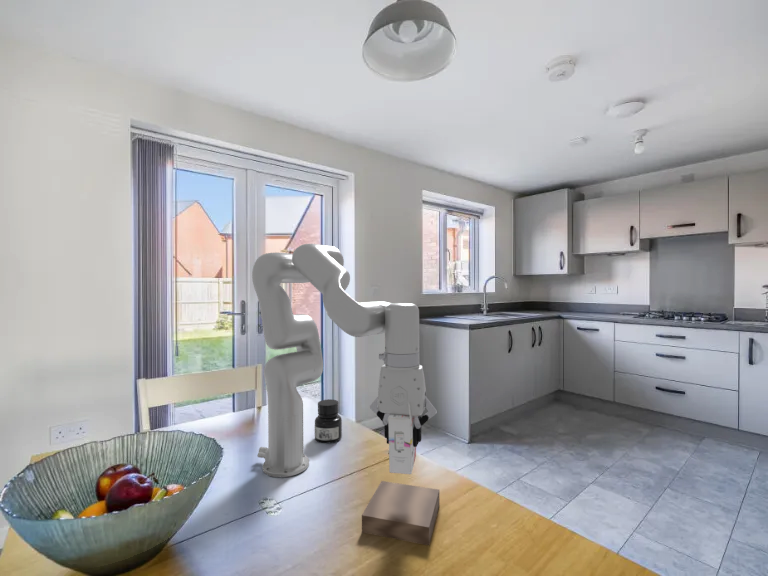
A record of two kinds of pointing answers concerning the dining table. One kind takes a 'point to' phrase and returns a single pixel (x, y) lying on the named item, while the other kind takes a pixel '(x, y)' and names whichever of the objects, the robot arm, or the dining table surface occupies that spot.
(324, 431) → the ink bottle
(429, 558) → the dining table surface
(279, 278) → the robot arm
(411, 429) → the ink cartridge box
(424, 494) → the walnut block
